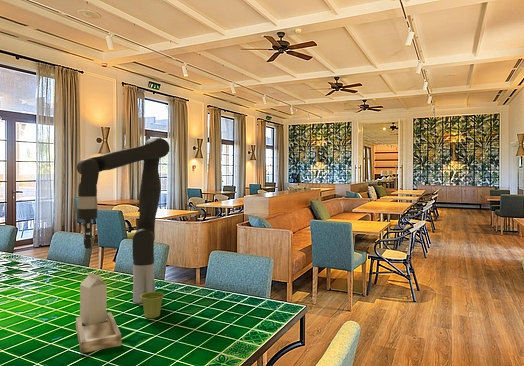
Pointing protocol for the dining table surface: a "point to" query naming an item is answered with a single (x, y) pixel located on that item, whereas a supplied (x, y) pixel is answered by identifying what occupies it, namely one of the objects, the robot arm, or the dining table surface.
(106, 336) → the u rest
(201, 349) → the dining table surface
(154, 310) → the plant pot
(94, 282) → the milk carton
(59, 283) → the dining table surface
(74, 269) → the dining table surface
